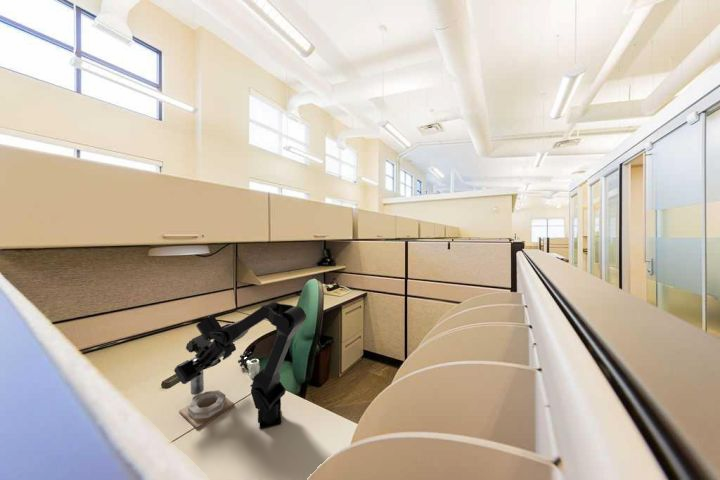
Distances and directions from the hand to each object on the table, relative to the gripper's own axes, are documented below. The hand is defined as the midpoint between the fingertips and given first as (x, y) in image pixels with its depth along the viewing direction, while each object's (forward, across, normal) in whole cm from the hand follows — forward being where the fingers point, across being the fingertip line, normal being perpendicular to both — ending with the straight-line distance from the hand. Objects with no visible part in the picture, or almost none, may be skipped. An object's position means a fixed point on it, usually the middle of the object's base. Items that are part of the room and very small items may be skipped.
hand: (194, 372), depth 93 cm
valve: (0, -18, +12) cm, 22 cm away
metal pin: (+4, 0, +6) cm, 7 cm away
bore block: (-2, +4, +14) cm, 14 cm away
